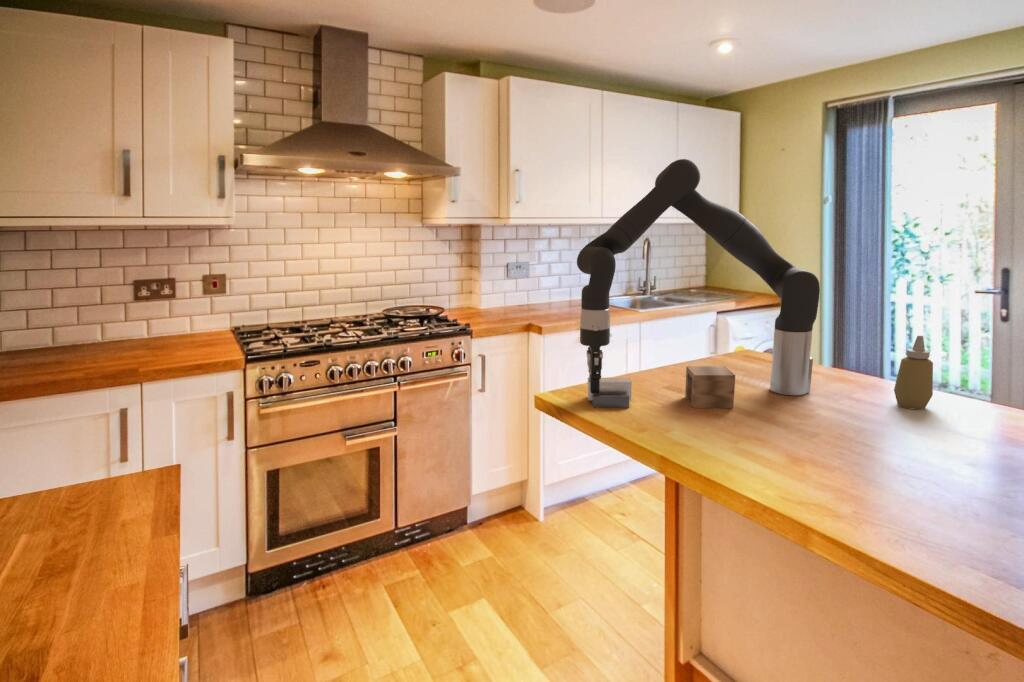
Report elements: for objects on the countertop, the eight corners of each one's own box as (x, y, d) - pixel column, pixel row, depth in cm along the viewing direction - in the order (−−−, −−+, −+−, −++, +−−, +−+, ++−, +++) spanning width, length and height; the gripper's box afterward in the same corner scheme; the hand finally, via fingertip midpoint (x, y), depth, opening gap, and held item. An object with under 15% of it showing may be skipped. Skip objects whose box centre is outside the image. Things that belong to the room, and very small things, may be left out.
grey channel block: (624, 396, 164) (624, 385, 163) (629, 408, 154) (629, 396, 153) (590, 396, 164) (590, 385, 164) (593, 407, 155) (593, 396, 154)
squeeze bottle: (936, 412, 147) (946, 339, 144) (900, 410, 149) (908, 338, 145) (921, 402, 155) (931, 333, 151) (887, 400, 157) (895, 332, 153)
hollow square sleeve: (723, 397, 162) (725, 366, 160) (733, 408, 153) (735, 375, 151) (685, 397, 162) (686, 366, 160) (692, 407, 153) (694, 375, 152)
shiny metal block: (629, 396, 160) (629, 377, 159) (631, 400, 157) (631, 382, 156) (587, 395, 161) (587, 377, 160) (588, 400, 157) (588, 381, 156)
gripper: (578, 320, 162) (578, 382, 166) (581, 331, 148) (581, 398, 152) (607, 320, 162) (606, 382, 166) (612, 331, 148) (611, 398, 152)
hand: (594, 389), depth 159 cm, fingers open, 4 cm apart
